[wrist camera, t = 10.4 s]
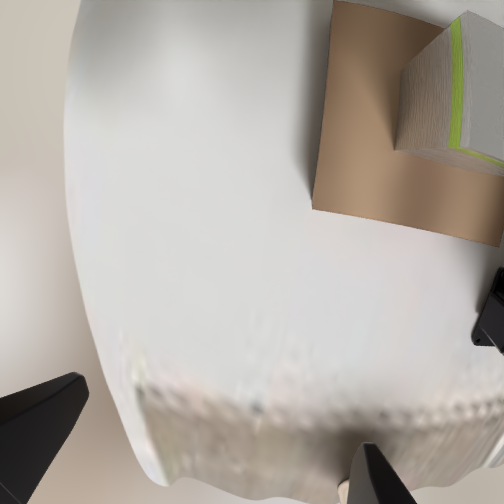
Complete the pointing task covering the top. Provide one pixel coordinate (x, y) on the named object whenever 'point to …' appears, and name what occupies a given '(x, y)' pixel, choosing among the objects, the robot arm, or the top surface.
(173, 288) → the top surface
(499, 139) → the metal column
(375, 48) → the walnut riser
